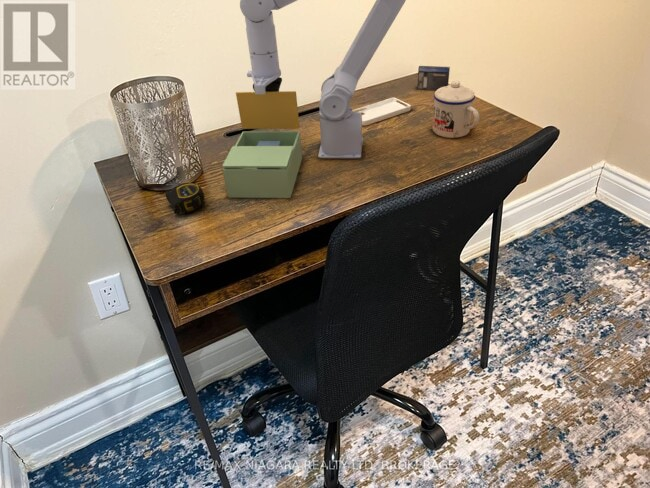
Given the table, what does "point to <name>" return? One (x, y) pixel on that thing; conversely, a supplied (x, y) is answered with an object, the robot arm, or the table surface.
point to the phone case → (382, 110)
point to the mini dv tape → (432, 77)
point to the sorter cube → (269, 143)
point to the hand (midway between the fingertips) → (271, 113)
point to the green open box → (263, 165)
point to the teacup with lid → (454, 111)
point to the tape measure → (185, 197)
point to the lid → (268, 110)
